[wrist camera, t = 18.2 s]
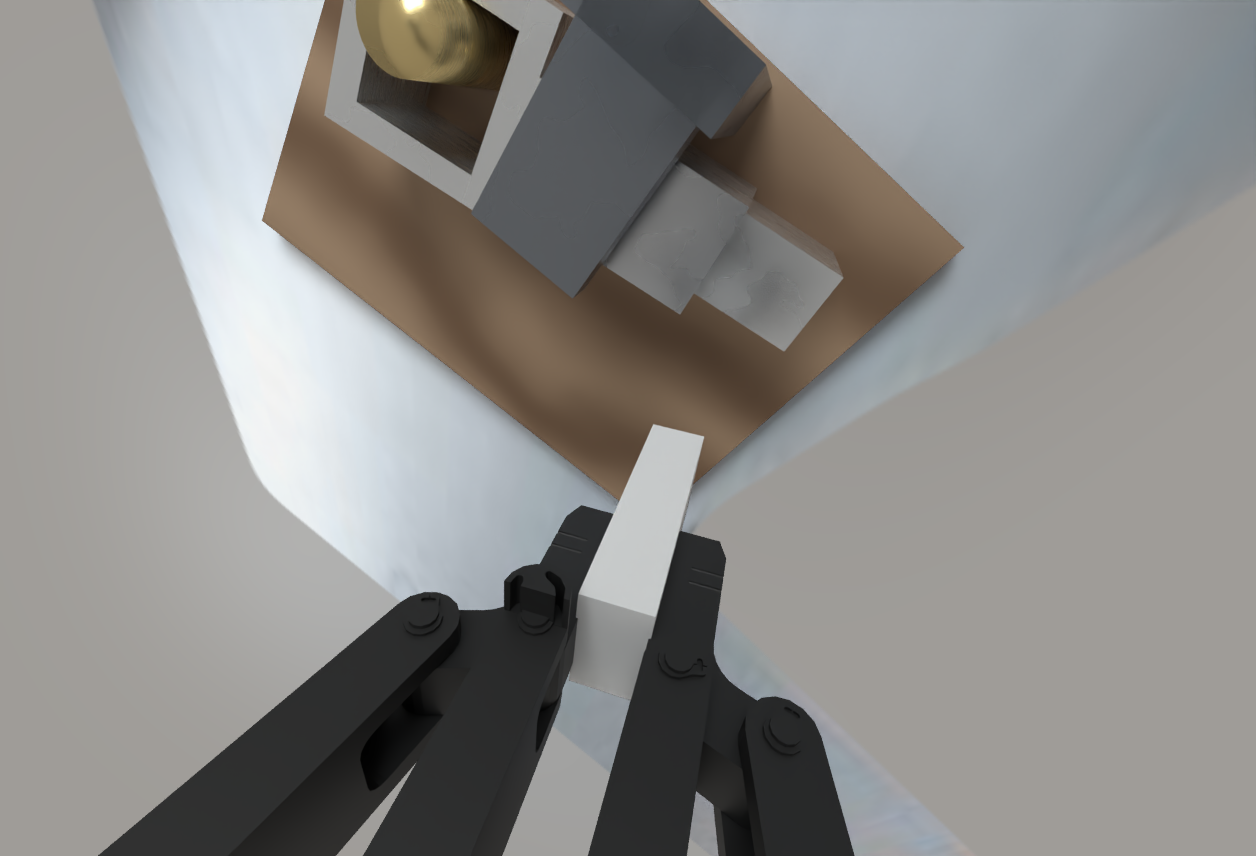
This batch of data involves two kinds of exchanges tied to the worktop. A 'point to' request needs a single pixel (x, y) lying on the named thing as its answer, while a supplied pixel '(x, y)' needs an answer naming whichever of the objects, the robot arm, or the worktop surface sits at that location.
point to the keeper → (614, 128)
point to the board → (599, 276)
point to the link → (661, 233)
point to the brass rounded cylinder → (437, 41)
